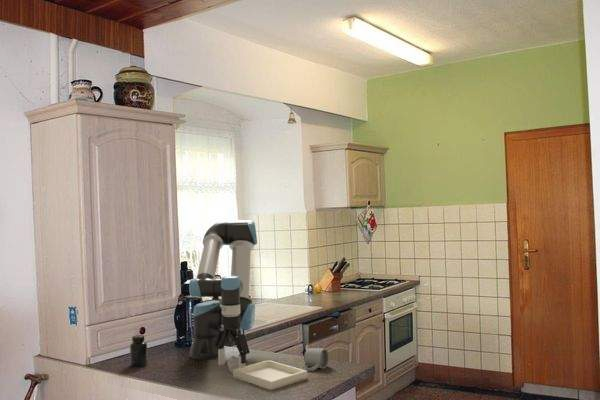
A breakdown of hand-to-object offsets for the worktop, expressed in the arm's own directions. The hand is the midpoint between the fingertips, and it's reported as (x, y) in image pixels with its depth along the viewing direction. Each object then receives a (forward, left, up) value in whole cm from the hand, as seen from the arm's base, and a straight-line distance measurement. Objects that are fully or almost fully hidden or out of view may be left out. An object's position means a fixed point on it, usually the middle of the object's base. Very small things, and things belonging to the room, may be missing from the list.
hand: (231, 368), depth 225 cm
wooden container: (-49, +28, 0) cm, 56 cm away
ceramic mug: (+24, +23, 0) cm, 34 cm away
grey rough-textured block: (+1, +1, -1) cm, 2 cm away
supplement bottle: (-33, -23, 0) cm, 40 cm away
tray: (+21, +2, 0) cm, 21 cm away
